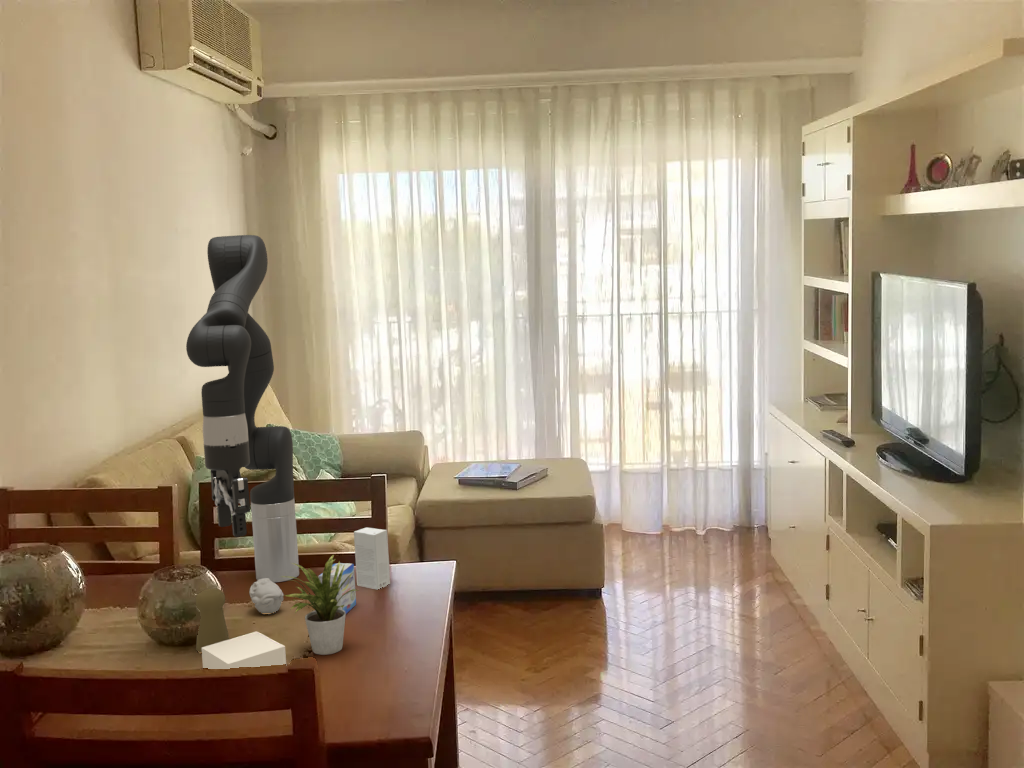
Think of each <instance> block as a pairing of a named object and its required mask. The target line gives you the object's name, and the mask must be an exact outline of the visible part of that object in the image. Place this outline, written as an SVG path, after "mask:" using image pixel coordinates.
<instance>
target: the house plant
mask: <svg viewBox="0 0 1024 768" xmlns="http://www.w3.org/2000/svg"><path fill="white" fill-rule="evenodd" d="M334 556H335V555H334V554H332V555H331V556H330V557H329V559H328V560H327V561H326V562H325V565H324V569H323V571H322V573H323V574H322V573H321V574H322V583H321V581H320V580H319V578H318V576H319V575H317V574H316V573H315V572H314V571H313V570H312V569H311V568H309V567H308V569H307V568H305V567H303V566H302V565H300V564H299V565H297V564H295V565H297V566H298V567H299V569H301V571H302V572H303V573H304V575H305V576H306V577H305V578H306V579H307V580H308V581H303V580H302V579H300V578H297V577H290V578H293V579H295V580H293V579H291V580H287V581H288V582H290V581H294V582H295V583H298V584H300V586H301V587H303V588H301V587H299V586H296V588H297V589H298V590H299V591H300V593H291V594H284V596H283V597H287V598H297V599H294V601H295V602H296V601H297V603H295V604H293V606H292V607H291V608H290V610H292V609H294V608H296V609H295V612H294V614H296V612H298V611H300V610H301V609H303V608H305V607H307V608H308V609H310V607H311V608H312V609H311V611H309V612H308V613H306V614H305V615H304V620H305V625H306V629H307V633H308V638H309V642H310V646H311V650H312V652H313V653H314V654H315V655H322V656H325V655H332V654H335V653H339V652H340V651H341V650H342V649H343V644H344V634H345V626H346V625H345V624H346V623H345V622H346V615H347V614H346V612H345V611H344V610H342V609H343V606H344V605H342V606H336V605H337V604H338V602H339V600H340V599H341V598H342V597H343V596H344V595H345V594H347V593H349V592H351V591H355V592H356V591H358V592H360V589H357V588H355V589H354V590H350V591H348V592H346V593H345V594H344V595H342V596H341V598H340V599H339V600H338V602H337V599H336V597H337V594H338V592H339V590H340V588H341V587H342V585H343V584H344V583H345V581H346V580H347V579H348V577H349V576H350V575H351V574H350V575H349V576H348V577H347V578H346V580H345V581H344V582H343V583H342V584H341V585H340V587H339V584H340V581H341V580H342V579H343V578H342V579H341V577H342V574H343V570H344V566H343V568H342V570H341V572H340V574H339V577H338V580H337V581H336V578H337V575H338V572H339V565H340V563H341V562H340V560H339V561H338V566H337V568H336V571H335V575H334V578H333V582H332V586H331V587H330V576H331V570H332V565H333V564H334V562H335V561H336V558H334ZM292 564H294V563H292ZM344 565H345V564H344ZM283 577H288V576H283ZM297 580H298V581H297ZM287 581H286V582H287ZM299 581H301V582H302V583H303V584H305V585H303V584H302V583H301V582H299ZM305 586H307V587H308V588H309V589H310V590H311V591H312V593H313V594H311V593H310V592H309V590H308V589H307V588H306V587H305ZM338 587H339V588H338ZM298 599H301V600H306V601H308V602H309V603H307V602H298ZM339 607H342V609H338V608H339Z"/></svg>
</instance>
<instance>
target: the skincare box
mask: <svg viewBox="0 0 1024 768" xmlns="http://www.w3.org/2000/svg"><path fill="white" fill-rule="evenodd" d="M353 543H354V556H355V558H354V559H355V572H356V586H358V587H363V588H367V589H372V590H376V591H377V590H378V589H379V590H381V589H383V588H385V587H388V586H389V585H388V584H390V585H391V573H390V557H389V544H388V543H389V539H388V529H381V528H374V527H364V528H360V529H358V530H355V531H353ZM387 585H388V586H387ZM382 587H383V588H382ZM380 588H381V589H380Z"/></svg>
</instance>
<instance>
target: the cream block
mask: <svg viewBox="0 0 1024 768" xmlns="http://www.w3.org/2000/svg"><path fill="white" fill-rule="evenodd" d="M201 649H202V654H201V659H202V660H201V661H202V669H203V668H208V669H230V668H239V667H260V666H271V665H283V664H286V665H287V656H286V646H285V645H284V644H282V643H279V642H278V641H276V640H274V639H272V638H271V637H269V636H267V635H266V634H263V633H260V632H259V631H253V632H250V633H246V634H243V635H239V636H237V637H233V638H229V640H225V641H222V642H219V643H215V644H212V645H209V646H205V647H202V648H201Z"/></svg>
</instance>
